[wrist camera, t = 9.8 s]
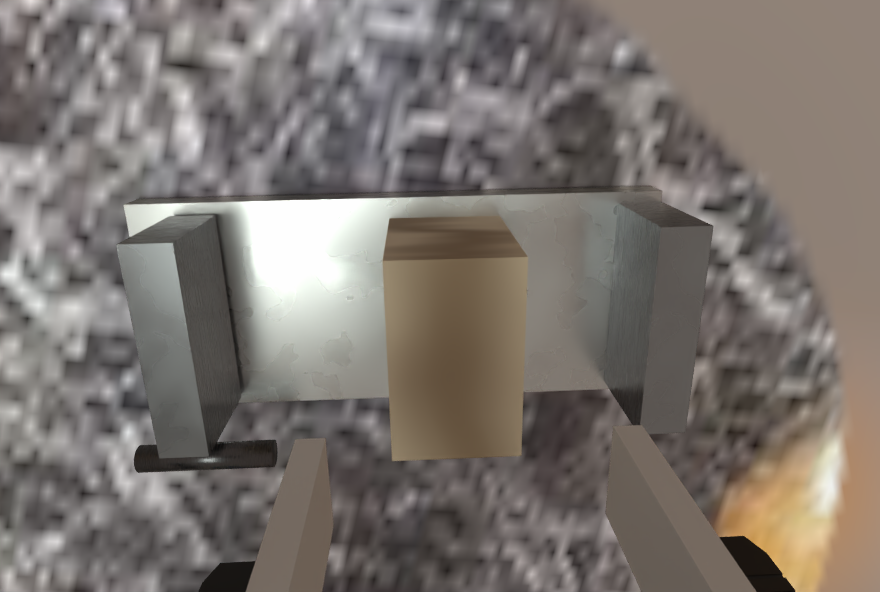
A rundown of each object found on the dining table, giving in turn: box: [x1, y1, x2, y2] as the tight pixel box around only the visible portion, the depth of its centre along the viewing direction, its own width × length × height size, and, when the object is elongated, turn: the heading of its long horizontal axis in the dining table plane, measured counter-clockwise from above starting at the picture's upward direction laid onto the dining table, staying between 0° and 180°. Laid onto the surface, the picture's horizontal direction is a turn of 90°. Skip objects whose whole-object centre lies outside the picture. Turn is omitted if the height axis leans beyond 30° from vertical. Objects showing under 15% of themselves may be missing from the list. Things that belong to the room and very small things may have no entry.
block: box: [382, 216, 528, 461], centre depth 25 cm, size 5×8×7 cm, turn 1°
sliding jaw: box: [116, 215, 277, 473], centre depth 26 cm, size 6×11×5 cm, turn 1°
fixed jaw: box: [604, 202, 713, 434], centre depth 26 cm, size 2×9×5 cm, turn 1°
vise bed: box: [124, 186, 662, 403], centre depth 29 cm, size 24×10×2 cm, turn 91°
